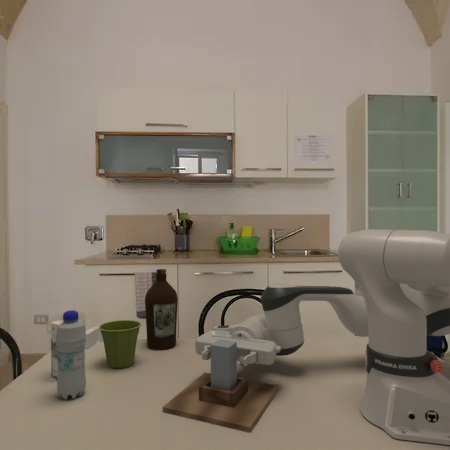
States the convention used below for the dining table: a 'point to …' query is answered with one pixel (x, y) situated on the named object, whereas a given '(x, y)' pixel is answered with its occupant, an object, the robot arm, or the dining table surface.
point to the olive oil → (161, 313)
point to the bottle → (71, 356)
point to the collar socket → (223, 402)
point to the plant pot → (120, 342)
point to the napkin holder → (93, 337)
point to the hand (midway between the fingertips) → (223, 359)
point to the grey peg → (224, 364)
